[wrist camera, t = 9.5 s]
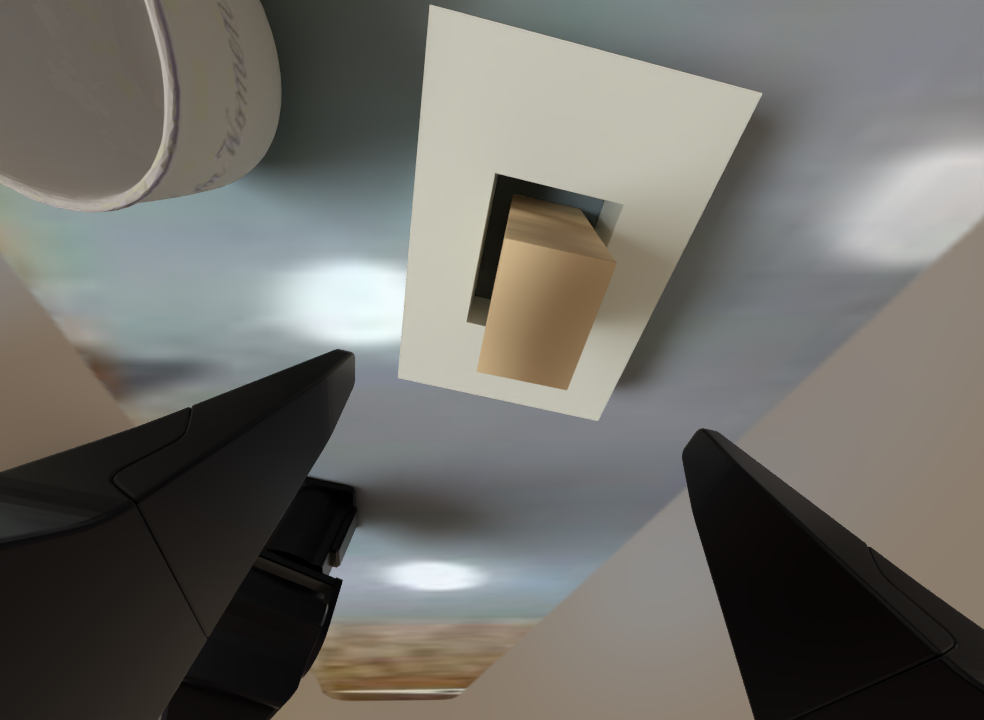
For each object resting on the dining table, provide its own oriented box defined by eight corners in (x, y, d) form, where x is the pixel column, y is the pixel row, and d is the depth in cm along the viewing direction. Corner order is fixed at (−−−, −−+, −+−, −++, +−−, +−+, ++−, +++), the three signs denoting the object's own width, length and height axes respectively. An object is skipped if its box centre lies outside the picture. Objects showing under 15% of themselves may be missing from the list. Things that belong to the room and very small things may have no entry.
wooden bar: (494, 284, 21) (476, 371, 14) (513, 193, 18) (504, 238, 11) (552, 297, 21) (566, 390, 14) (579, 208, 19) (617, 263, 11)
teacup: (218, 222, 20) (67, 268, 14) (12, -6, 16) (-370, -106, 9) (414, 61, 16) (333, 11, 9) (207, -326, 11) (-268, -1007, 4)
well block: (413, 347, 24) (398, 377, 21) (447, 28, 15) (429, 4, 12) (589, 385, 24) (597, 421, 21) (718, 100, 16) (762, 93, 13)
